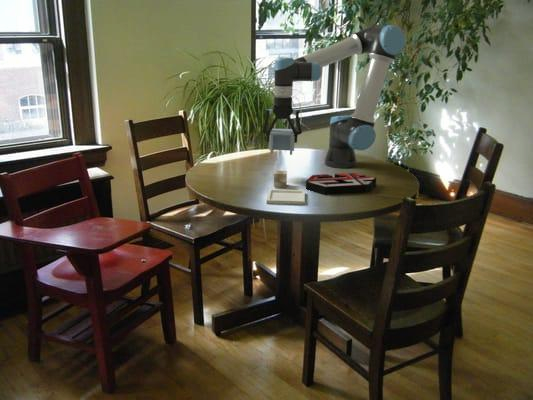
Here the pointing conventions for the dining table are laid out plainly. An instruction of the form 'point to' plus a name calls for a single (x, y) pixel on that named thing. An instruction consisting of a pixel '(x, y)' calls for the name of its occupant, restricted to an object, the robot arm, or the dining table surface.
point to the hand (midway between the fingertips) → (281, 149)
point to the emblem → (340, 184)
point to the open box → (281, 140)
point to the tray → (286, 197)
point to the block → (280, 179)
